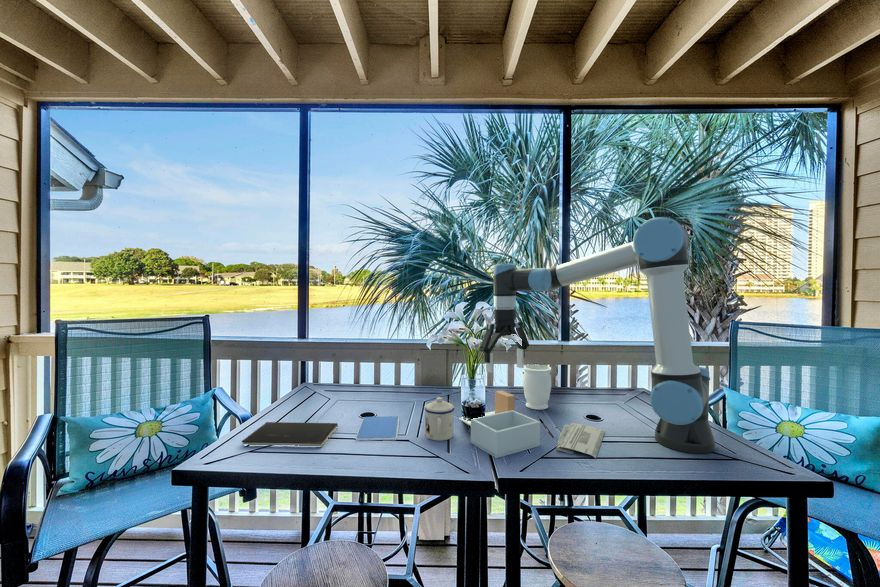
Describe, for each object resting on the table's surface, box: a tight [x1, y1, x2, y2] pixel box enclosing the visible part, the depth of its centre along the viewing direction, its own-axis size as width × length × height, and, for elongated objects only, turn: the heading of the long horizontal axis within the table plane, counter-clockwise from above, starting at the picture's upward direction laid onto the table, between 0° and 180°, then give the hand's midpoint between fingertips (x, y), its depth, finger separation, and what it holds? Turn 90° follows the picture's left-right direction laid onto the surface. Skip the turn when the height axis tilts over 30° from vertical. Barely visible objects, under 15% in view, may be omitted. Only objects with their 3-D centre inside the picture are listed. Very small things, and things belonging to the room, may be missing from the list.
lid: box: [458, 390, 516, 427], centre depth 137 cm, size 13×17×9 cm
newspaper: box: [555, 422, 606, 460], centre depth 120 cm, size 23×12×2 cm, turn 152°
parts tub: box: [470, 410, 541, 459], centre depth 117 cm, size 12×16×7 cm
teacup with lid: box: [424, 396, 455, 442], centre depth 122 cm, size 12×9×12 cm
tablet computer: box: [354, 415, 400, 441], centre depth 129 cm, size 19×13×1 cm, turn 3°
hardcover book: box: [241, 421, 339, 447], centre depth 122 cm, size 16×23×2 cm
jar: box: [522, 364, 552, 411], centre depth 152 cm, size 11×10×15 cm
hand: (505, 369), depth 140 cm, fingers open, 13 cm apart
